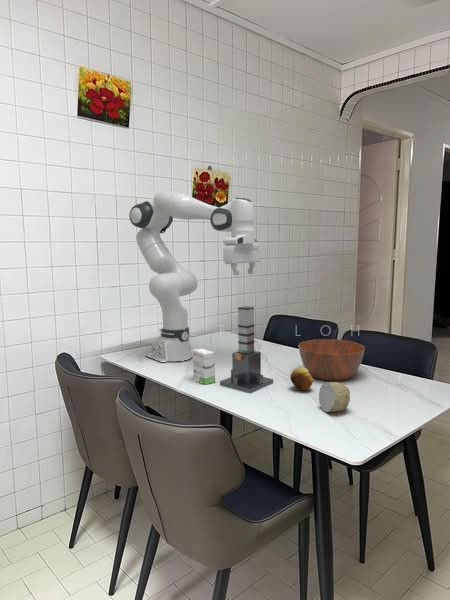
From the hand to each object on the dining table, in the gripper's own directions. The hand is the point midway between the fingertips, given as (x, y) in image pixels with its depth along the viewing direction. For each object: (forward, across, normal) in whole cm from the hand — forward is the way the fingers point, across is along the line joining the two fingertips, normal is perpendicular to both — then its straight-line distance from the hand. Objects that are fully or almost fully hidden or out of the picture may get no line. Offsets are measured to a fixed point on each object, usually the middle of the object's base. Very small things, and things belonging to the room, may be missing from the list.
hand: (243, 274), depth 176 cm
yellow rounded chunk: (+39, +17, +49) cm, 65 cm away
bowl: (+39, -15, +31) cm, 52 cm away
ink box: (+39, +21, -3) cm, 45 cm away
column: (+28, +14, +12) cm, 34 cm away
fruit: (+39, +7, +31) cm, 50 cm away
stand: (+39, +14, +12) cm, 43 cm away
